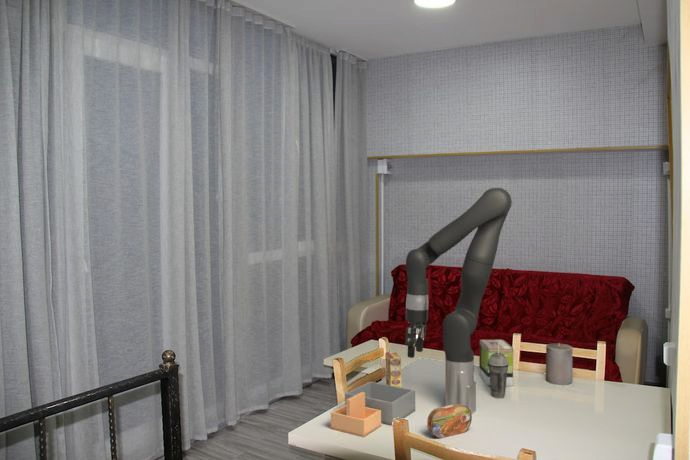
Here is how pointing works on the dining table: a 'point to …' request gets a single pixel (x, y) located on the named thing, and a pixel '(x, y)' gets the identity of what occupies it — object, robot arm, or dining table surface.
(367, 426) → the small basket
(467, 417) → the tin
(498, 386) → the beverage cup
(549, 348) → the pillar candle
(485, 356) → the tea box
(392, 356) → the candy box
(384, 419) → the large crate
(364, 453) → the dining table surface
